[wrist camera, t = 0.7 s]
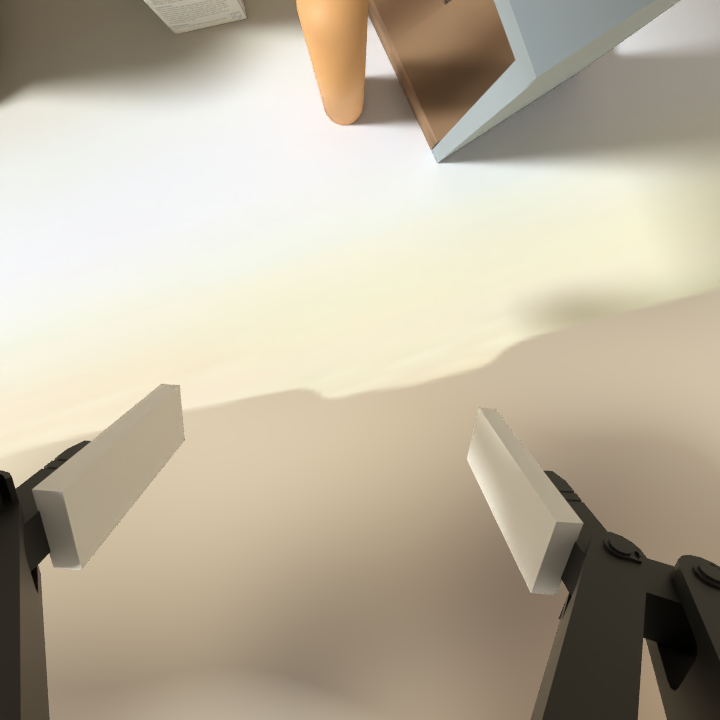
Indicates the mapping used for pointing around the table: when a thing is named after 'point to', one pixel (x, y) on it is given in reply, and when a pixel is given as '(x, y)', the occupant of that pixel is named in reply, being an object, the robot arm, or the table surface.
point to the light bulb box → (197, 13)
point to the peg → (337, 53)
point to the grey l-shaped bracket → (548, 54)
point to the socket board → (442, 55)
